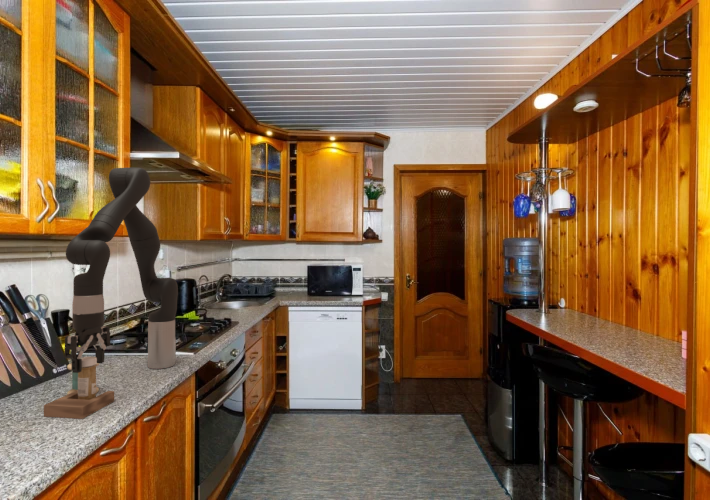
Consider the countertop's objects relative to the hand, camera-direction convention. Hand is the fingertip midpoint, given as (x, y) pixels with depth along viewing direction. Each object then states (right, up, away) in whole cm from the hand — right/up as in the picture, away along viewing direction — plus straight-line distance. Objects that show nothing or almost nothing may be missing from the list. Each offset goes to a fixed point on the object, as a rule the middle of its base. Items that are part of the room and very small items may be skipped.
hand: (88, 367), depth 115 cm
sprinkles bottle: (0, -11, 0) cm, 11 cm away
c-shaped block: (0, -11, -3) cm, 11 cm away
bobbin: (-8, -11, +9) cm, 16 cm away
